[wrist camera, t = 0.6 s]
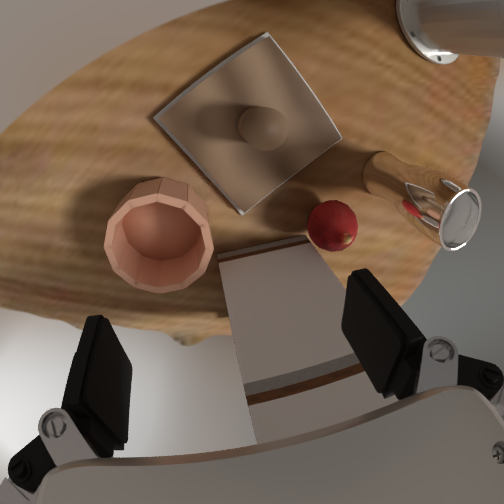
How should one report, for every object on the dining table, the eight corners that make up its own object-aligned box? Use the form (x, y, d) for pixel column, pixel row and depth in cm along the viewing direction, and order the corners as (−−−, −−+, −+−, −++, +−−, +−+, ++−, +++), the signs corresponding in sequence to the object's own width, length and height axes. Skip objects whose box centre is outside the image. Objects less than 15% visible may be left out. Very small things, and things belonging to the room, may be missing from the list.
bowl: (163, 157, 30) (157, 171, 24) (227, 224, 35) (234, 249, 30) (99, 222, 31) (85, 246, 26) (163, 278, 37) (160, 308, 32)
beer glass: (351, 187, 36) (427, 243, 23) (372, 139, 33) (460, 174, 20) (387, 205, 38) (461, 259, 25) (408, 161, 35) (490, 202, 22)
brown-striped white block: (232, 316, 42) (298, 571, 12) (216, 254, 37) (297, 587, 7) (307, 298, 43) (421, 524, 13) (305, 235, 38) (478, 502, 8)
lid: (266, 37, 25) (281, 26, 20) (337, 137, 32) (361, 145, 27) (159, 117, 27) (152, 121, 22) (242, 209, 34) (252, 230, 29)
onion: (337, 232, 38) (367, 263, 32) (297, 236, 38) (321, 270, 31) (342, 191, 36) (376, 216, 29) (300, 192, 35) (327, 218, 28)
